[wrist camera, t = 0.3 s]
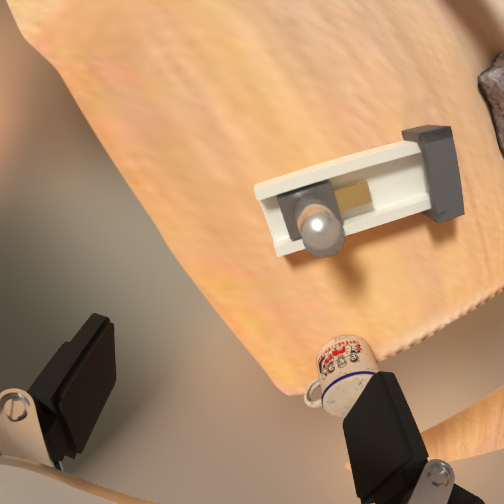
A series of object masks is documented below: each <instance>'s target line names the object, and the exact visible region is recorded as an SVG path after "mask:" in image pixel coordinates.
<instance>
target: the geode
mask: <svg viewBox="0 0 504 504" xmlns="http://www.w3.org/2000/svg"><path fill="white" fill-rule="evenodd" d="M478 82H479V85H480V88H481V90H482V92H483V93H484V95H485V96H486V98H487V100H488V102H489V104H490V106H491V108H492V117H493V121H494V124H495V128H496V133H497V140H498V144H499V147H500V149H501V150H502V152H503V153H504V51H501V52H500V54H499V55H498V56H497V57H496V58H495V60H494V63H493V64H492V66H491V67H490V68H488V69H487V70H485V71H484V72H482V73H481V74H480V76H478Z"/></svg>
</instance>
